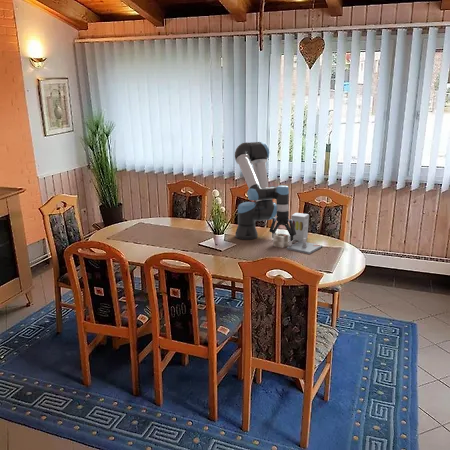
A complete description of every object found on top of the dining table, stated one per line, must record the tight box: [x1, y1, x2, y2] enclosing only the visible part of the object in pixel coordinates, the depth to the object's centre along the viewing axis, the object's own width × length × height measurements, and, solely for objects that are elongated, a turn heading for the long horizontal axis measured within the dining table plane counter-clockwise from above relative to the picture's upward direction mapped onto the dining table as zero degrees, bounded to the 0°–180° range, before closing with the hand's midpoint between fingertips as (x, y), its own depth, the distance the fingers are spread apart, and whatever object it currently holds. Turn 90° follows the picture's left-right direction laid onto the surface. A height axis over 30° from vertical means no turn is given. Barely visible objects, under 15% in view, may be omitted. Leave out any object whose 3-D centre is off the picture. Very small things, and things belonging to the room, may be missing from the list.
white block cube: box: [272, 232, 290, 249], centre depth 294 cm, size 7×7×7 cm
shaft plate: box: [286, 238, 323, 255], centre depth 289 cm, size 16×17×6 cm
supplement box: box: [290, 212, 310, 242], centre depth 307 cm, size 10×9×17 cm
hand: (282, 244), depth 293 cm, fingers open, 11 cm apart
